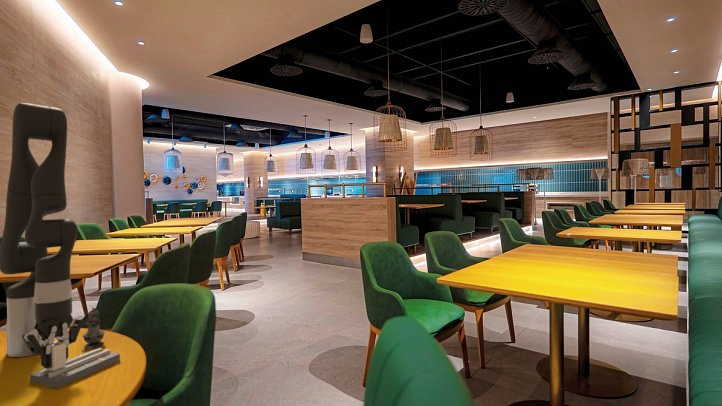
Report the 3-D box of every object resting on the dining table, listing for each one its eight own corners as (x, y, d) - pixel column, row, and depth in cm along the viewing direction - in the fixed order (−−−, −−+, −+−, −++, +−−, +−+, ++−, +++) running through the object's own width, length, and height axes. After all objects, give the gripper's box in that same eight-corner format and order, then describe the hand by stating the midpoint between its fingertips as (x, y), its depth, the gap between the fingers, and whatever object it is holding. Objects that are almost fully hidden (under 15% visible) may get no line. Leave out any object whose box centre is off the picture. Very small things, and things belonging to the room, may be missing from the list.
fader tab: (44, 373, 100) (43, 344, 100) (56, 368, 103) (55, 340, 103) (54, 375, 99) (53, 346, 99) (66, 369, 102) (65, 342, 102)
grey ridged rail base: (29, 382, 100) (29, 370, 100) (94, 356, 116) (94, 345, 116) (57, 388, 97) (57, 376, 97) (119, 360, 113) (119, 350, 113)
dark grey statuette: (93, 349, 121) (93, 310, 121) (77, 348, 122) (77, 309, 122) (109, 342, 127) (109, 305, 127) (94, 341, 128) (93, 304, 128)
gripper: (71, 290, 109) (72, 352, 109) (12, 303, 95) (13, 374, 96) (91, 292, 106) (92, 356, 107) (33, 306, 93) (34, 379, 93)
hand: (55, 364), depth 101 cm, fingers closed on fader tab, 3 cm apart
